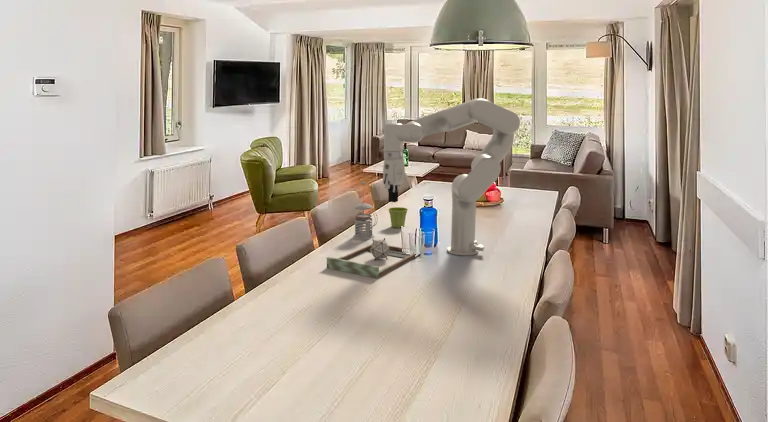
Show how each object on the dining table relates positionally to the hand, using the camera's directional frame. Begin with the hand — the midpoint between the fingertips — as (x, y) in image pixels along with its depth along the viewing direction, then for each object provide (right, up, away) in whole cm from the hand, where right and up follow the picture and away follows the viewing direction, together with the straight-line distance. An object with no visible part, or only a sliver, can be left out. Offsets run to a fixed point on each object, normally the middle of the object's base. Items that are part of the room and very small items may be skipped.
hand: (393, 201), depth 211 cm
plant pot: (+3, -12, +46) cm, 48 cm away
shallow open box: (-7, -23, -6) cm, 25 cm away
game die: (-5, -23, -4) cm, 24 cm away
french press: (-12, -16, +28) cm, 34 cm away
